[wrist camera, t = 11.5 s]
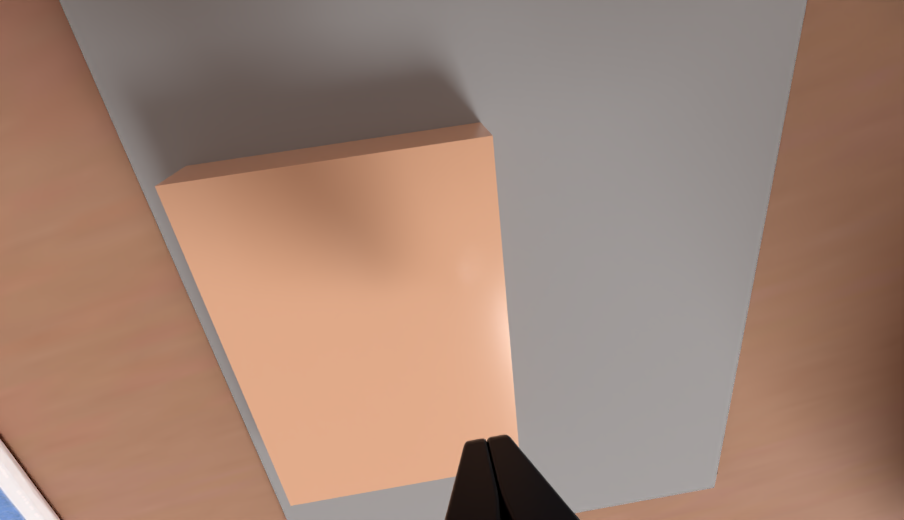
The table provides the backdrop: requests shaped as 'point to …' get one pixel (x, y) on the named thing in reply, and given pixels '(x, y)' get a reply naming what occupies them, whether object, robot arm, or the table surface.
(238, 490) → the table surface
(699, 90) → the mat
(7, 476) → the tablet computer
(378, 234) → the tile
